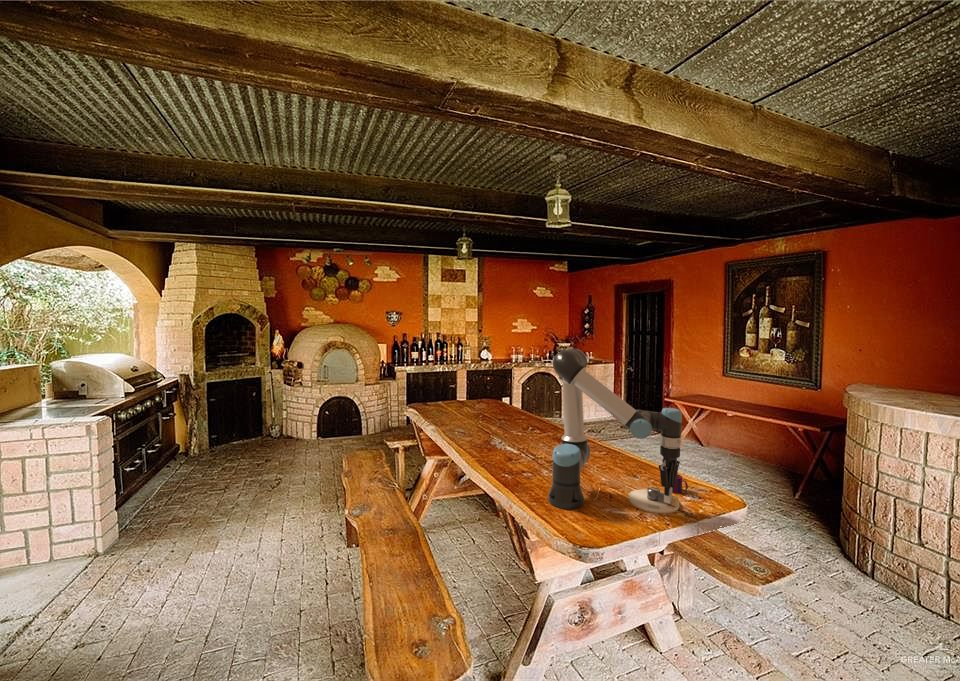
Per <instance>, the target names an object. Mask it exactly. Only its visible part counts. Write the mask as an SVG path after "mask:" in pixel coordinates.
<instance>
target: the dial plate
mask: <svg viewBox="0 0 960 681" xmlns="http://www.w3.org/2000/svg"><path fill="white" fill-rule="evenodd" d="M660 492H662V493H664V491H661V490H660ZM628 501H629V503H630V504H631V505H632V506H634V507H635V508H637V509H640V510H642V511H645V512H649V513H652V514H673V513H675V512H677V511H678V510H680V501H679V500H678V505H677V506H676V507H675V506H672V505H671V504H668V503H665V502H662V501H651V500H649V499H648V498H647V488H646V489H645V488H642V489H641V488H640V489H635V490H632V491H630V492H629V493H628Z"/></svg>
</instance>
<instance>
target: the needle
mask: <svg viewBox="0 0 960 681" xmlns="http://www.w3.org/2000/svg"><path fill="white" fill-rule="evenodd" d="M646 489H647V498H648V499H649V500H651V501H662V502H664V493H662V492H663V491H661V489H659V488H658V487H655V486H650V487H647V488H646ZM660 491H661V492H660ZM678 501H679V497H678V496H675V495H672V503H671V505H672V506H675V507H676V506H677V505H678ZM665 503H666V502H665Z"/></svg>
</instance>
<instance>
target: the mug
mask: <svg viewBox="0 0 960 681" xmlns="http://www.w3.org/2000/svg"><path fill="white" fill-rule="evenodd" d="M683 483H684V484H685V489H683ZM674 486H675V488H673V487H672V494H681V493H682V492H686V491H687V490H688V487H689V485H688V482H687V481H686V480H684V479H683V476H682V474H679V473H677V479H676V484H675V485H674Z"/></svg>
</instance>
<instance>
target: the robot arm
mask: <svg viewBox="0 0 960 681" xmlns="http://www.w3.org/2000/svg"><path fill="white" fill-rule="evenodd" d="M587 365H588V359H587V356H586V354H585V353H584V352H583V350H580V349H577V348H568V349H564V350H561V351H559V352H558V353H556V355H555V356H554V357H553V359H552V367H553V370H554V372H555V373H556V374H557V376H558V378H559V379H558V380H560V382H562V395H563V396H562V397H563V398H562V399H563V400H562V401H563V421H564V422H563V427H564V434H563V435H562V436H561V444H558V445H556V446H555V447H554V448H553V451H552V483H551V486H550V489H549V491H548V494H547V501H548V503H549V502H550V503H551V505H552V506H554V507H555V508H558V509H559V508H560V509H563V510H564V509H565V510H574V509H579V508H581V507H583V506H584V504H585V498H584V497H585V496H584V493H583V490H582V487H581V470H582V468H583V467H584V466H585V465H586V464H587V463H588V461H589V459H590V457H591V449H590V445H589V443H588V437H587V436H586V435H585V434H584V433H585V429H584V427H585V426H584V425H585V424H584V407H583V406H584V404H583V403H584V402H583V394H585V395H586V396H588V398H590V399H591V400H592V401H594V402H595V403H596V404H597V405H599V407H601V408H603V409H604V410H605V411H606V412H608V413H609V414H610V415H611V416H612V417H614V419H616V420H617V421H619V422H620V423H621V424H622V425H624V426H625V427H626V428H627V429H629V431H630V434H631V435H632V436H633V437H634V438H635V439H639V440H644V439H647V438H648V437H649V436H651V434H652V432H653V431H658V432H659V431H660V447H659V454H660V455H661V456H662V464H659V465H658V469H659V476H660V486H661V487H664V490H663V492H664V502H666V503H668V504H671V503H672V496H673V493H672V487H673V488H675V486H674V485H675V484H676V479H677V474H679V473H678V472H679V466H680V463H681V460H678V459H679V458H680V457H681V443H682V426H683V418H682V417H683V414H682V411H681V409H679V408H675V407H663V408H662V410H661V411H660V412H659V411H650V410H642V409H635V408H634V407H632V405H630V404H629V403H627V402H626V401H625V400H623V398H621V397H619V395H617V394H616V393H615V392H613V391H612V390H611V389H610V388H609V387H607V386H606V385H604V384H603V383H601V381H599V379H597V378H596V377H594V376H593V375H592V374H590V373H589V372H588V371H587V369H586V368H587ZM550 503H549V504H550Z"/></svg>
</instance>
